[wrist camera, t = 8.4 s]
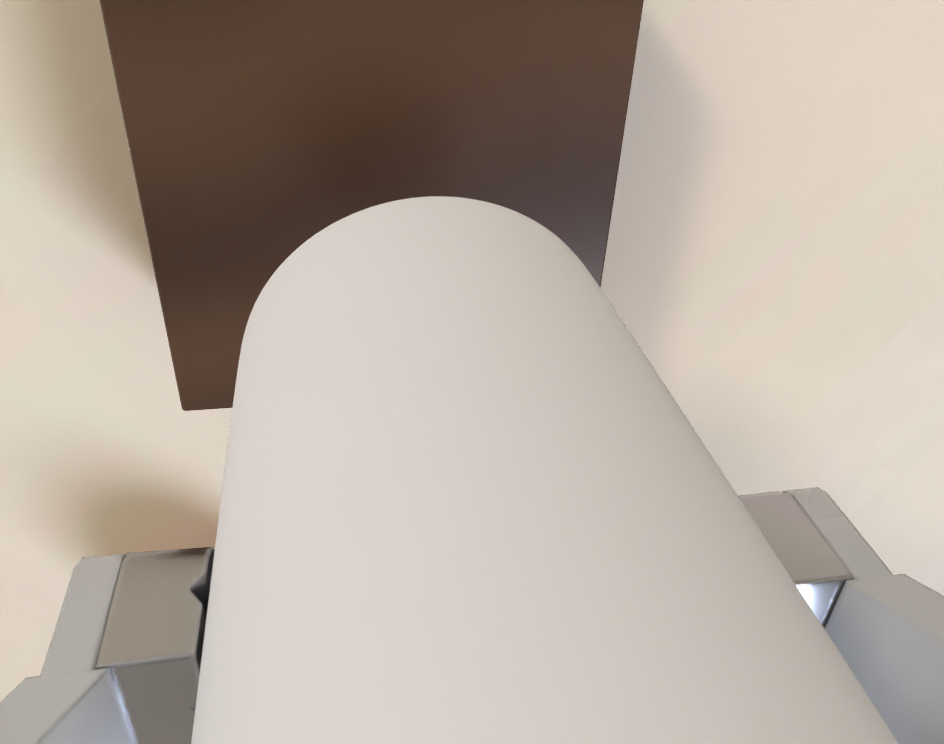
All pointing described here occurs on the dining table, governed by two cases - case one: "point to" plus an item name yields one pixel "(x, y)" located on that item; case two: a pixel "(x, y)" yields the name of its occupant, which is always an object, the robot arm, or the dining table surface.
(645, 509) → the can
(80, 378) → the dining table surface
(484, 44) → the brown square block
